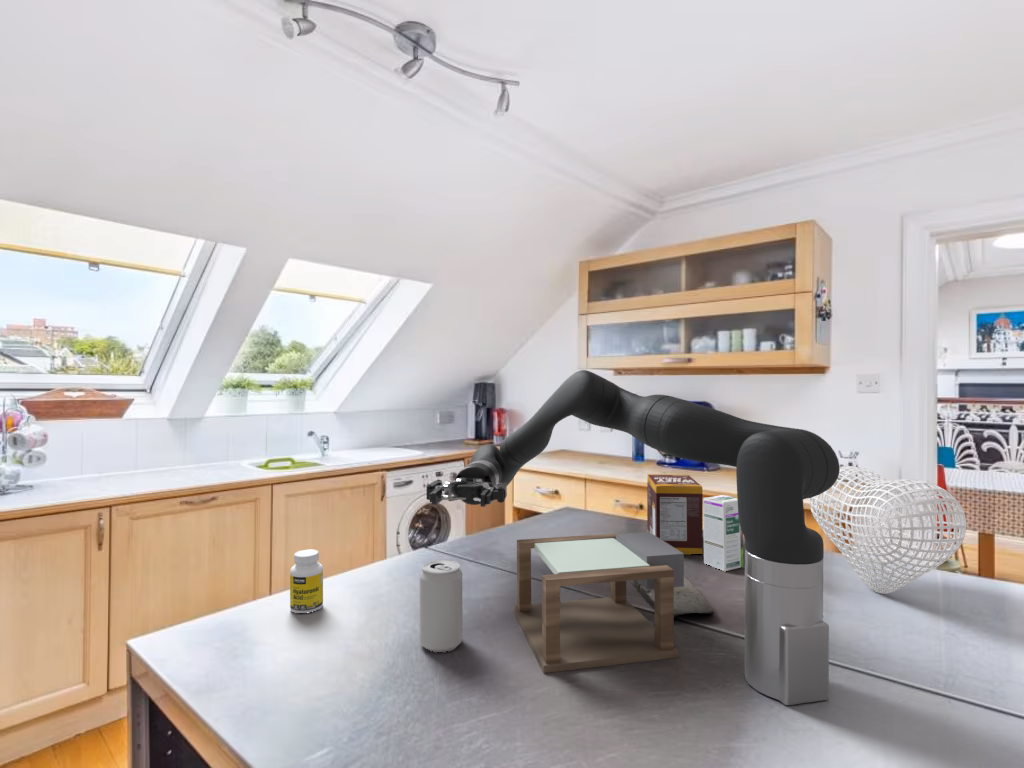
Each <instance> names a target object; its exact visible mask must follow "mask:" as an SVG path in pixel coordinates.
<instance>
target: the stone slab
mask: <svg viewBox="0 0 1024 768" xmlns="http://www.w3.org/2000/svg"><path fill="white" fill-rule="evenodd" d="M629 582H630V583H632V584H631V585H632V587H633V586H634V587H635V588H636V589H635V588H634V587H633V588H634V589H635V590H636V591H637V590H638V591H637V592H638V593H639V595H640V596H641V597H643V599H644V601H646V603H647V604H648V603H649V604H648V605H649V606H650V607H651V608H652V609H653V610H654V589H650V590H647V589H645V588H644V587H643V586H642V585H641V584H640V583H638V582H637V581H636V580H630V581H629ZM686 614H710V615H712V616H714V615H715V611H714V610H713V608H712V606H711V605H710V604H709V603H708V601H707V600H706V599H705V597H704V596H703V594H702V593H701V592H699V590H698V589H697V588H696V587H695V586H694V585H693V583H692V582H691V581H689V579H688V578H687V577H686V576H684V587H674V618H676V617H678V616H680V615H686Z"/></svg>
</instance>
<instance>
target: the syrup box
mask: <svg viewBox="0 0 1024 768" xmlns="http://www.w3.org/2000/svg"><path fill="white" fill-rule="evenodd" d="M703 563H704V565H706V564H707V565H706V566H708V565H710V566H712V567H711V568H713V567H714V568H713V569H715V568H717V569H716V570H718V569H720V570H719V571H721V570H722V572H724V573H726V571H727V572H728V571H732V570H737V569H741V567H742V568H744V535H743V532H742V530H741V527H740V523H739V518H738V499H737V497H736V496H732V495H724V494H720V495H715V496H709V497H703ZM710 566H709V567H710Z"/></svg>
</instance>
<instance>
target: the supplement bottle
mask: <svg viewBox="0 0 1024 768" xmlns="http://www.w3.org/2000/svg"><path fill="white" fill-rule="evenodd" d="M293 557H294V558H293V559H294V560H293V561H294V565H292V567H291V568H290V570H289V571H290V574H289V583H290V584H289V598H290V599H289V602H290V603H289V606H290V607H289V608H290V611H291V613H293V612H295V613H294V614H296V613H307V612H312V611H315V612H317V611H316V610H318V609H319V610H321V609H322V608H323V606H324V566H323V564H321V563H320V562H319V560H320V559H319V557H320V553H319V551H318V550H317V549H313V548H311V549H301V550H297V551H296V552H295V553H294V555H293ZM319 610H318V611H319ZM312 613H313V612H312ZM307 614H308V613H307Z"/></svg>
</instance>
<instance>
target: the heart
mask: <svg viewBox="0 0 1024 768" xmlns="http://www.w3.org/2000/svg"><path fill="white" fill-rule="evenodd" d="M856 475H857V476H856ZM839 476H841V479H838V478H837V480H836V482H835V483H834V484H833V486H832V487H831V489H828V490H827V491H825V492H823V493H821V494H820V495H817V496H814V497H812V498H808V501H809V502H808V503H809V509H810V511H811V514H812V516H813V518H814V520H815V521H816V523H817V525H819V527H820V528H821V530H822V531H823V532H824V534H825V535H826V536H827V538H829V540H830V541H832V543H833V544H834V545H835V547H836V548H837V549H838V550H839V552H840V553H841V554H842V555H843V557H844V558H845V560H846V561H847V562H848V563H849V564H850V567H851V568H853V570H854V571H855V573H856V574H857V575H858V577H859V578H860V579H861V581H863V583H865V585H866V586H867V587H868V588H869V589H871V590H872V591H874V593H875V592H876V593H877V594H882V595H883V594H885V595H886V594H887V595H888V594H891V593H894V592H896V591H899V590H900V589H902V588H903V587H905V586H906V585H908V584H910V583H912V582H913V581H915V580H916V579H918V578H920V577H922V576H924V575H925V574H927V573H929V572H931V571H932V570H934V569H936V568H937V567H939V566H941V565H942V564H944V563H945V562H946V561H948V560H949V559H950V558H952V556H953V555H954V554H955V553H956V552H957V551H958V550H959V548H960V546H961V545H962V543H963V541H964V539H965V537H966V533H967V531H966V530H967V519H966V514H965V511H964V509H963V507H962V505H961V503H960V502H959V501H958V499H956V497H955V496H954V495H952V493H950V492H949V491H948V490H946V489H944V488H942V487H940V486H939V485H937V484H935V483H931V482H929V481H928V482H927V481H924V480H919V479H912V478H911V479H906V478H905V479H904V478H903V479H902V478H901V479H893V480H891V479H890V480H887V479H886V478H885V477H883V475H880V474H878V473H876V472H875V471H873V470H870V469H868V468H863V467H859V466H852V465H843V466H840V470H839ZM845 479H846V480H847V482H846V481H844V480H845ZM857 480H858V481H857ZM856 481H857V482H856ZM863 484H864V485H863ZM842 485H843V486H844V487H843V488H842ZM857 488H858V489H857ZM849 489H850V490H849ZM848 490H849V491H848ZM928 492H931V493H928ZM830 493H831V494H830ZM836 493H837V494H838V497H835V494H836ZM859 493H860V494H859ZM920 493H922V494H920ZM842 495H845V497H844V499H843V500H841V497H842ZM877 495H878V496H877ZM884 497H885V499H884ZM923 497H926V499H924V498H923ZM932 497H934V498H932ZM848 498H851V499H850V501H848ZM915 498H918V500H916V499H915ZM866 502H867V503H866ZM890 502H891V503H890ZM894 503H895V506H894ZM820 504H821V507H820ZM824 505H825V506H826V507H827V509H825V506H824ZM838 505H839V508H840V509H839V508H838ZM845 505H846V510H844V507H845ZM876 505H877V506H876ZM918 505H921V506H922V508H923V510H920V508H919V506H918ZM908 506H909V508H908ZM913 506H914V507H915V509H913ZM929 506H930V507H929ZM851 507H852V509H851ZM887 508H888V509H887ZM929 508H930V509H931V510H930V509H929ZM831 509H833V510H831ZM850 509H851V510H850ZM898 509H899V510H898ZM874 510H875V511H874ZM903 510H904V513H903ZM892 512H893V513H894V514H893V516H892V515H891V514H892ZM914 513H915V514H914ZM838 514H839V515H838ZM944 515H945V521H944ZM884 516H885V517H884ZM936 516H937V518H936ZM854 517H855V519H854ZM923 517H925V518H924V519H925V520H923ZM928 517H929V518H928ZM873 519H875V521H874V522H873ZM901 519H902V520H904V521H903V522H902V521H901ZM936 519H938V520H936ZM882 520H884V521H882ZM890 520H891V521H890ZM907 520H909V523H910V525H907ZM863 522H864V524H863ZM894 522H896V524H895V527H894V526H893V524H894ZM914 522H917V526H915V527H914ZM837 523H838V524H839V525H837ZM924 523H925V524H924ZM843 524H845V528H844V526H843ZM868 524H869V525H868ZM876 524H877V525H876ZM929 524H930V526H929ZM937 524H938V525H937ZM945 524H946V525H945ZM849 525H850V526H849ZM892 526H893V527H892ZM869 529H871V532H870V531H869ZM945 529H946V530H947V531H945ZM952 529H953V531H952ZM883 530H884V531H883ZM938 530H939V531H938ZM860 531H861V532H860ZM905 531H908V533H906V532H905ZM914 531H917V533H916V536H915V535H914V534H915V533H914ZM865 532H866V533H865ZM843 533H844V534H843ZM876 533H879V535H877V534H876ZM887 533H888V535H887ZM896 533H899V535H898V536H895V534H896ZM929 533H930V538H928V536H929ZM850 534H851V535H852V536H850ZM920 534H921V535H920ZM937 534H939V538H936V537H937ZM944 535H946V538H944ZM951 535H952V536H953V537H952V538H951ZM957 535H958V536H957ZM904 536H906V537H904ZM920 536H921V537H920ZM868 539H869V541H868ZM886 539H888V540H887V541H886ZM881 540H882V542H881ZM846 541H848V543H847V542H846ZM893 541H896V543H895V542H893ZM853 542H854V544H853ZM913 542H914V544H913ZM927 543H929V544H928V547H927ZM902 544H904V545H902ZM918 544H919V546H918ZM935 544H936V548H935V549H934V546H935ZM943 545H944V547H943V549H942V546H943ZM949 545H950V547H949ZM879 548H881V549H882V550H880V549H879ZM874 549H875V550H874ZM888 549H889V550H891V551H888ZM900 551H901V552H900ZM865 555H866V556H865ZM872 556H874V557H875V558H872ZM887 556H889V557H890V559H889V558H888V557H887ZM880 557H882V559H881V558H880ZM913 560H915V561H914V562H913ZM922 562H923V563H922ZM931 562H932V563H931ZM874 563H875V564H874ZM900 563H902V564H900ZM920 563H921V564H920ZM930 563H931V564H930ZM875 565H876V566H875ZM879 565H880V566H879ZM892 565H893V566H894V568H893V567H892ZM907 566H910V567H907ZM914 568H916V569H914ZM880 572H881V574H880ZM884 574H886V575H884Z"/></svg>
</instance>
